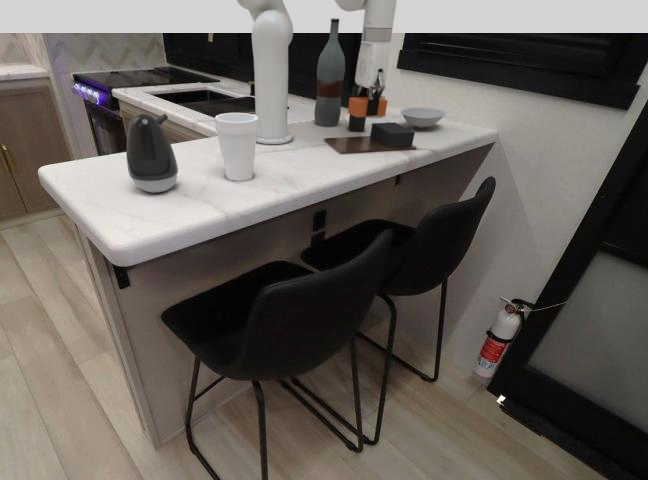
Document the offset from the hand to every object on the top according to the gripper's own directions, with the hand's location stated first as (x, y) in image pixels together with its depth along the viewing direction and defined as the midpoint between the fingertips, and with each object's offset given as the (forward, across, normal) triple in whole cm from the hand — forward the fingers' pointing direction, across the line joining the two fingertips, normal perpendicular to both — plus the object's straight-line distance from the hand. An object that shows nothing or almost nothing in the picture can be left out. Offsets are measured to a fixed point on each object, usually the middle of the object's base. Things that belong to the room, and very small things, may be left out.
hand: (366, 112), depth 108 cm
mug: (+9, -36, +19) cm, 42 cm away
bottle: (+9, -27, -2) cm, 28 cm away
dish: (+10, -16, +29) cm, 35 cm away
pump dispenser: (+9, +23, -60) cm, 64 cm away
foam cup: (+9, +19, -41) cm, 46 cm away
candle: (+9, -17, +5) cm, 20 cm away
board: (+9, 0, +2) cm, 9 cm away
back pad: (+9, 0, +9) cm, 13 cm away
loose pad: (+1, 0, 0) cm, 1 cm away
